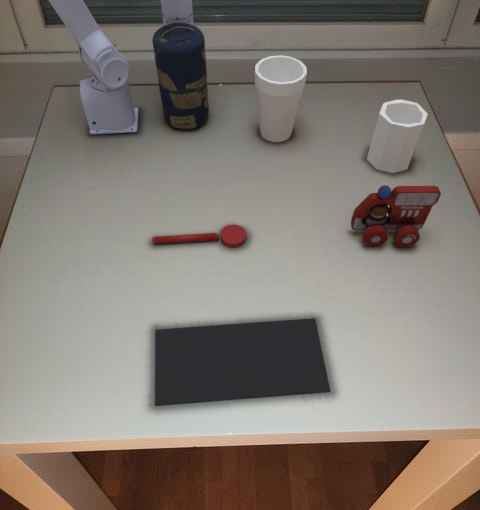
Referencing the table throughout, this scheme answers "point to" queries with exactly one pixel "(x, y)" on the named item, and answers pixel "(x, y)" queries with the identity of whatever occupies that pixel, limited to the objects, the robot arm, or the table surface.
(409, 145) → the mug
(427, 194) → the toy fire truck
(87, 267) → the table surface
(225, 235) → the spoon
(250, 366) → the placemat
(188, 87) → the canister
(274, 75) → the foam cup
